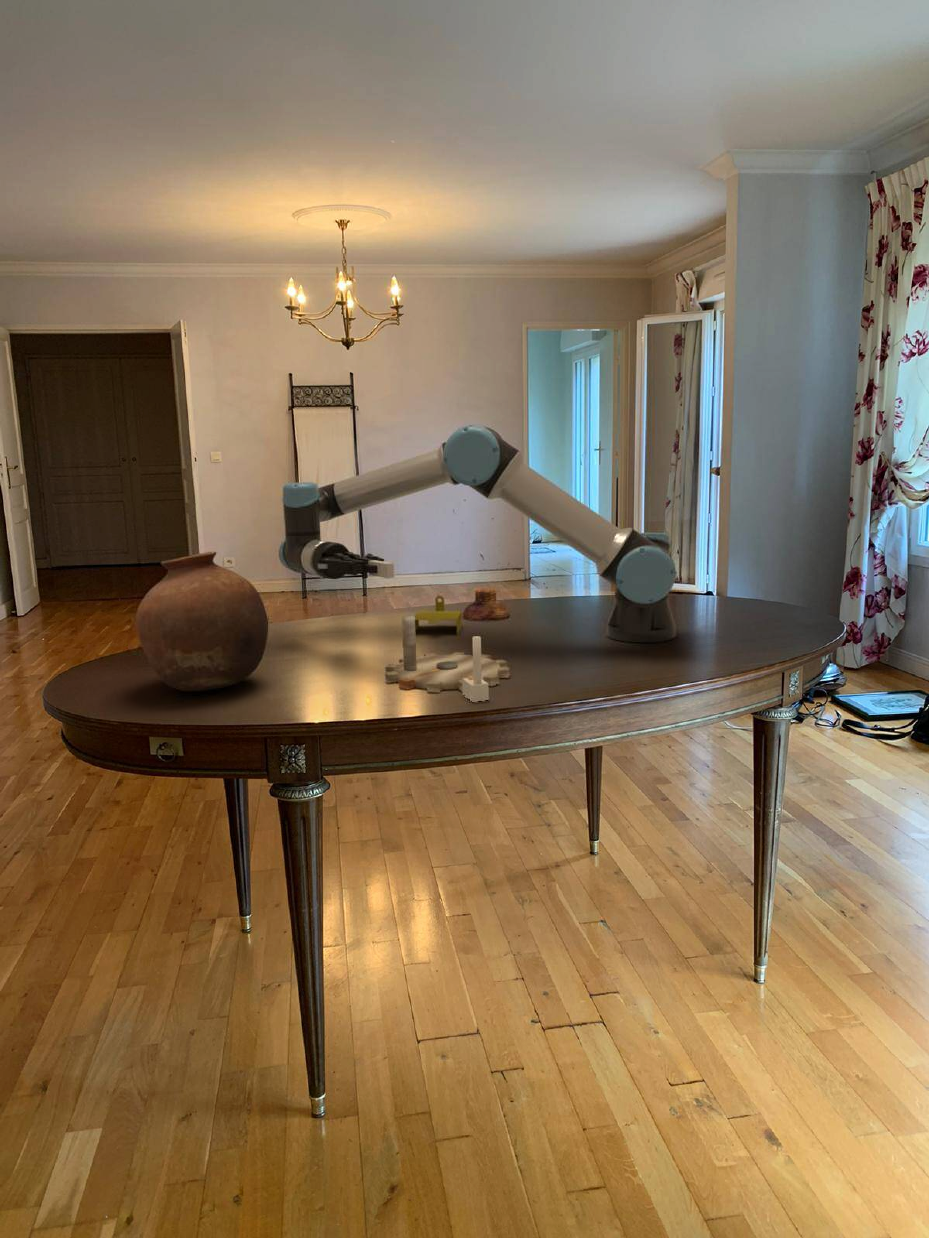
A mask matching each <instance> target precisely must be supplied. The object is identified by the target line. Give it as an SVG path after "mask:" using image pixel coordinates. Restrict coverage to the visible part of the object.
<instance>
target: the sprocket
mask: <svg viewBox="0 0 929 1238" xmlns="http://www.w3.org/2000/svg"><path fill="white" fill-rule="evenodd" d="M414 616H415V615H414ZM414 616H413V615H407V616H406V615H405V616H402V617H401V628H402V630H401V631H402V650H403V651H402V653H403V654H402V656H403V657H402V658H399V659H398V664H397V663H388V664H387V665H386V666H385V672H384V677H385V679H384V680H385V682H386V683H388V684H392V683H398V688H399V689H402V690H403V689H404V690H407V691H409V690H411V689H414V688H416V689H417V688H418V689H424V690H426V692H427V693H440V692H441V691H442V690H459V691H461V692H463V686H462V678H468V677H469V676H473V654H472V655H471V654H466V653H465V652H463V651H462V652H461V651H457V652H456V651H455V652H453V653H452V654H436V653H435V652H431V653H423V656H420V657H417V643H416V642H417V641H416V636H417V635H416V631H415V617H414ZM510 671H511V670H510V666H509V667H508V661H506V660H504V659H496V660H494V659H492V655H489V654H485V653H481V674H482V679H483V680H484V681H485V682H487V683H488V686H489V687H493V686H496V684H497V685H499V684H500V679H509V677H510V675H511V674H510V673H511V672H510Z"/></svg>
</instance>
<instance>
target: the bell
mask: <svg viewBox="0 0 929 1238" xmlns="http://www.w3.org/2000/svg"><path fill="white" fill-rule="evenodd" d="M474 595H475V598H474V601H473V602H472V603H470V604H468V605H467V606H466V607H465V608H464V610H463V612H462V615H463V616H462V617H463V618H464V620H467V619H473V620H497V621H501V620H500V619H503V620H506V619H507V617H508V618H509V616H510V611H509V610H508V608H507V606H506V605H504V604H503V603H501V602H499V601H498V600H497V592H496V590H495V589H486V590H485V589H484V588H477V589H476V590H475V594H474Z"/></svg>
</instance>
